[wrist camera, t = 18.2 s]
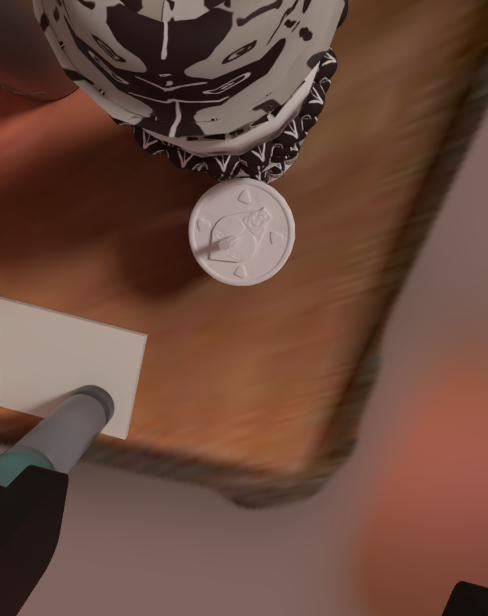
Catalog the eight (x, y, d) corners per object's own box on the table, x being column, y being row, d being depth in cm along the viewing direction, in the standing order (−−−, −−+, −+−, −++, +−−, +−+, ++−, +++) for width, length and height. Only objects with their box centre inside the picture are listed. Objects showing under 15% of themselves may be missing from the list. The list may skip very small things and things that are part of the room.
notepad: (-19, 291, 38) (-24, 293, 37) (147, 334, 38) (145, 336, 37) (-30, 394, 40) (-35, 397, 40) (127, 436, 40) (124, 440, 39)
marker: (73, 378, 38) (-17, 451, 27) (119, 390, 38) (49, 468, 27) (66, 420, 39) (-23, 509, 28) (111, 432, 39) (40, 526, 28)
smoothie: (195, 220, 35) (143, 227, 22) (257, 168, 34) (243, 140, 20) (244, 282, 36) (224, 326, 22) (307, 233, 35) (326, 248, 21)
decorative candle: (195, 57, 33) (-49, -390, 8) (318, 73, 32) (440, -347, 8) (182, 183, 35) (-44, 119, 10) (297, 200, 34) (344, 174, 10)
